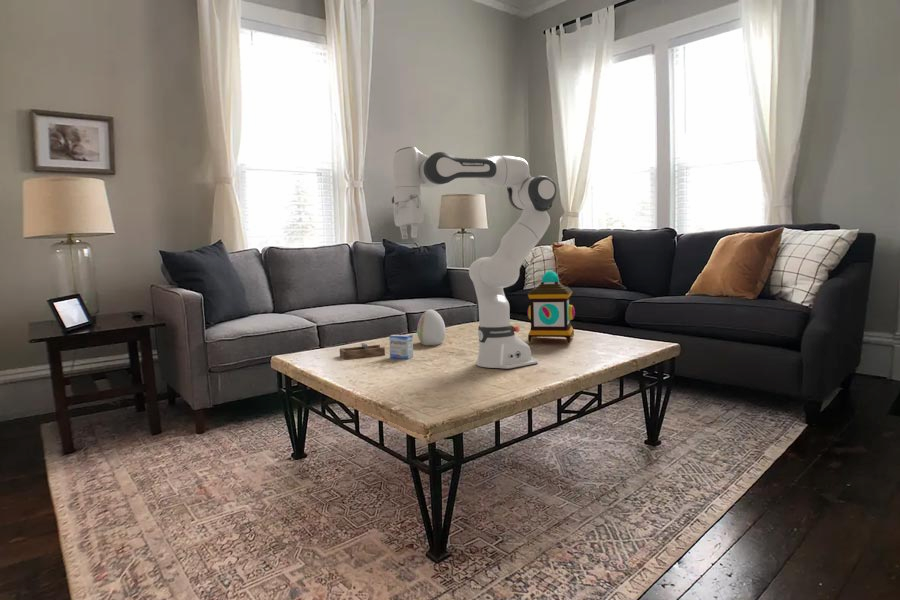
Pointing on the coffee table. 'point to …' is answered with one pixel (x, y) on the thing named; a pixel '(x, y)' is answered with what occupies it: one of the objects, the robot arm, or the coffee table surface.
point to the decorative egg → (431, 328)
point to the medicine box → (401, 346)
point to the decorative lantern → (550, 309)
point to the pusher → (364, 346)
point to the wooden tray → (362, 352)
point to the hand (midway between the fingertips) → (409, 238)
